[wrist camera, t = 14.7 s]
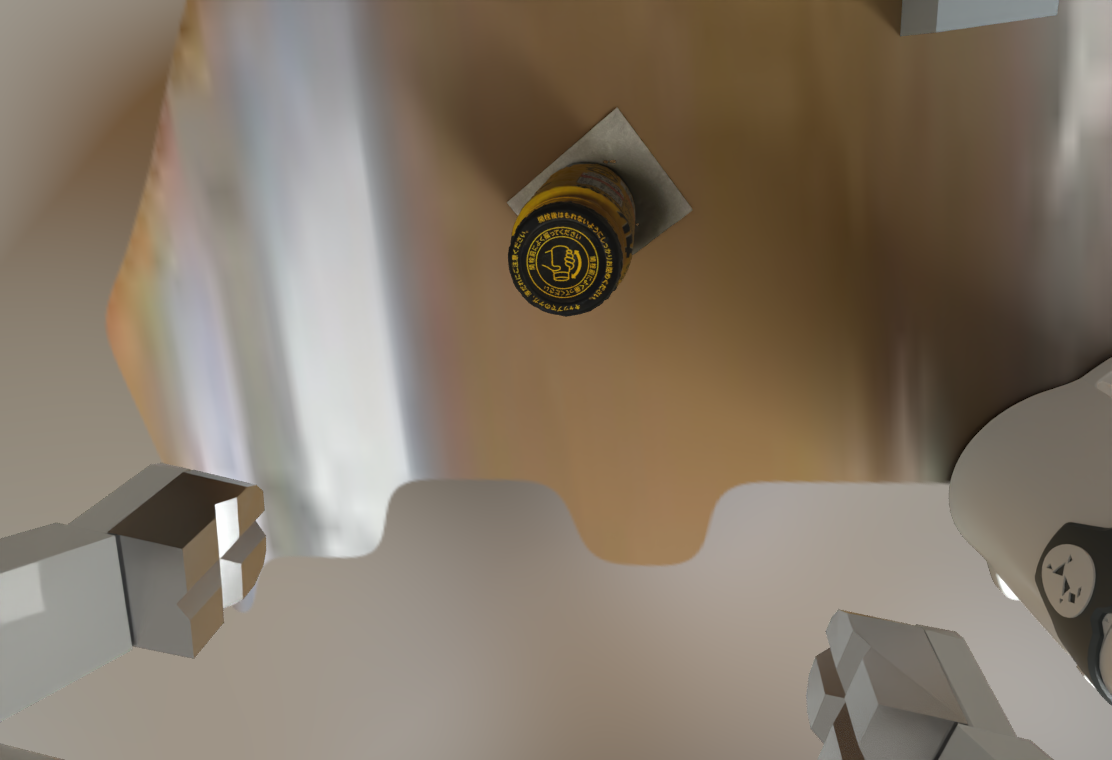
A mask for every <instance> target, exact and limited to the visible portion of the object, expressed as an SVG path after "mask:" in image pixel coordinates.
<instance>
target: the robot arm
mask: <svg viewBox="0 0 1112 760" xmlns="http://www.w3.org/2000/svg"><path fill="white" fill-rule="evenodd" d="M949 506H950V511H951V515H952V518H953V521H954V523H955V525H956V527H957V529H958V531H959V532H960V534H961V535H962V536H963V537H964V539H965V540H966V541H967V542H968V543H969V544H970V545H971V546H972V547H973V548H974V549H975V550H976V551H977V552H979V553H980V554H981V555H982V556H983V557H984V558H985V559H986V561H987V564H988V567H989V571H990V574H991V577H992V579H993V582H994V583H995V585H996V586H997V588H998V589H999V590H1000V591H1001V592H1002V593H1003V594H1004V595H1005V596H1006V597H1007V598H1009V599H1012V600H1020V601H1021V602H1022V603H1023V605H1024V606H1025V607H1026V608H1027V609H1028V610H1029V612H1030V613H1031V614H1032V615H1033V616H1034V617H1035V618H1036V620H1037V621H1038V622H1039V623H1040V624H1041V625H1042V626H1043V627H1044V628H1045V630H1046V631H1047V632H1048V633H1049V634H1050V635H1051V636H1052V638H1053V639H1054V640H1055V641H1056V642H1057V643H1058V644H1059V645H1060V646H1061V648H1062V649H1063V650H1064V651H1065V652H1066V653H1068V654H1069V655H1070V656H1071V657H1072V658H1073V660H1074V661H1075V662H1076V664H1077V668H1078V669H1079V671H1080V672H1081V674H1082V675H1083V676H1084V678H1085V679H1086V680H1087V681H1088V682H1089V683H1090V684H1091V685H1092V686H1093V687H1094V688H1095V689H1097V691H1098V692H1099V693H1100V694H1101V696H1102V697H1103V698H1104V699H1105V700H1106V701H1107V702H1108V703H1109V704H1110V705H1112V357H1111V358H1109V359H1108V360H1106V361H1105V362H1103V363H1102V364H1100V365H1099V366H1097V367H1096V368H1094V369H1093V370H1091V371H1090V372H1089V373H1087V374H1086V375H1085V376H1083V377H1082V378H1080V379H1078V380H1076V381H1074V382H1071V383H1069V384H1066V385H1063V386H1060V387H1057V388H1054V389H1051V390H1048V391H1045V392H1042V393H1039V394H1036V395H1034V396H1032V397H1029V398H1027V399H1025V400H1023V401H1021V402H1019V403H1017V404H1015V405H1013V406H1012V407H1010V408H1008V409H1007V410H1005V411H1004V412H1002V413H1001V414H999V415H998V416H997V417H995V418H994V419H993V420H991V421H990V422H989V423H988V424H987V425H985V426H984V427H983V428H982V429H981V430H980V431H979V432H978V433H977V434H976V435H975V437H974V438H973V439H972V440H971V441H970V443H969V444H968V445H967V447H966V448H965V449H964V451H963V453H962V454H961V456H960V458H959V460H958V462H957V464H956V466H955V468H954V471H953V474H952V477H951V482H950V487H949ZM264 511H265V506H264V495H263V490H262V489H261V488H259V487H258V486H257V485H256V484H251V483H247V482H243V481H239V480H234V479H230V478H226V477H222V476H218V475H213V474H209V473H205V472H201V471H197V470H190V469H187V468H182V467H178V466H173V465H169V464H164V463H158V464H151V465H149V466H148V467H146V468H145V469H144V470H142V471H141V472H140V473H138V474H137V475H135V476H134V477H133V478H131V479H130V480H128V481H127V482H126V483H124V484H123V485H121V486H120V487H119V488H117V489H116V490H115V491H113V492H112V493H110V494H109V495H108V496H106V497H105V498H103V499H102V500H101V501H99V502H98V503H97V504H95V505H94V506H93V507H91V508H90V509H88V510H87V511H85V512H84V513H83V514H81V515H80V516H79V517H77V518H76V519H74V520H73V521H72V522H70V523H69V524H68V525H65V524H60V523H53V524H50V525H46V526H43V527H40V528H36V529H32V530H29V531H25V532H22V533H18V534H15V535H11V536H8V537H4V538H1V539H0V722H2V721H4V720H6V719H7V718H9V717H11V716H12V715H15V714H17V713H18V712H20V711H22V710H24V709H26V708H28V707H29V706H31V705H33V704H35V703H37V702H39V701H40V700H42V699H44V698H46V697H48V696H49V695H51V694H53V693H55V692H57V691H58V690H60V689H62V688H64V687H66V686H68V685H69V684H71V683H73V682H75V681H77V680H78V679H80V678H82V677H84V676H86V675H88V674H89V673H91V672H93V671H95V670H96V669H99V668H100V667H102V666H104V665H106V664H108V663H109V662H111V661H113V660H115V659H117V658H119V657H120V656H122V655H124V654H126V653H128V652H130V651H131V650H132V646H134V647H139V648H143V649H148V650H154V651H158V652H163V653H168V654H173V655H178V656H182V657H187V658H192V659H194V658H195V657H196V656H197V655H198V653H199V652H200V651H201V650H202V649H203V647H204V646H205V645H206V644H207V643H208V641H209V640H210V639H211V638H212V637H213V635H214V634H215V633H216V632H217V631H218V629H219V628H220V627H221V626H222V625H223V623H224V612H223V609H224V608H226V607H228V606H230V605H233V604H235V603H237V602H239V601H242V600H243V599H244V598H245V597H246V595H247V594H248V593H249V592H250V590H251V589H252V588H253V587H254V585H255V583H256V581H257V579H258V577H259V574H260V572H261V570H262V568H263V565H264V560H265V554H266V535H265V534H264V532H263V531H262V529H261V528H260V527H259V525H258V524H257V522H256V521H255V520H256V519H257V518H258V517H259V516H260V515H261V514H262V513H263V512H264ZM826 634H827V638H828V641H829V645H830V648H828V649H827V650H825V651H824V652H822V653H820V654H819V655H817V656H816V657H815V659H814V662H813V665H812V668H811V671H810V673H809V678H808V686H807V695H806V699H807V713H808V718H809V723H810V728H811V730H812V731H813V732H814V733H815V735H816V736H817V737H818V738H819V739H820V740H821V742H822V743H823V744H824V746H823V748H822V750H821V753H820V755H819V757H818V760H1053V759H1052V758H1051V757H1050V756H1049V755H1048V754H1046V753H1045V752H1044V751H1043V750H1042V749H1040V748H1039V747H1038V746H1037V745H1036V744H1035V743H1033V742H1032V741H1031V740H1028V739H1024V738H1019V737H1017V735H1016V734H1015V732H1014V730H1013V728H1012V726H1011V724H1010V723H1009V721H1008V719H1007V717H1006V715H1005V713H1004V712H1003V710H1002V708H1001V706H1000V704H999V702H998V700H997V698H996V697H995V695H994V693H993V691H992V689H991V688H990V686H989V684H988V682H987V680H986V678H985V676H984V674H983V673H982V671H981V669H980V667H979V665H978V664H977V662H976V660H975V658H974V656H973V654H972V652H971V651H970V649H969V647H968V645H967V643H966V641H965V640H964V639H963V637H961V636H960V635H959V634H958V633H957V632H955V631H949V630H944V629H939V628H934V627H928V626H923V625H918V624H916V625H911V624H907V623H902V622H896V621H892V620H887V619H882V618H877V617H873V616H868V615H863V614H858V613H854V612H848V611H844V610H838V611H837V612H836V613H835V614H834V615H833V616H832V618H831V620H830V622H829V625H828V627H827V630H826ZM0 760H64V759H60V758H56V757H52V756H48V755H44V754H40V753H36V752H32V751H28V750H23V749H20V748H16V747H12V746H8V745H4V744H0Z"/></svg>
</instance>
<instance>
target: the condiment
mask: <svg viewBox="0 0 1112 760" xmlns="http://www.w3.org/2000/svg"><path fill="white" fill-rule="evenodd" d="M604 160H607V161H608V163H607V164H606V163H603V161H604ZM610 160H615V161H616V163H610ZM507 204H508V205H509V206H510V207H511V208H512V210H513V211H514V212H515V213H516V214H517V216H518V217H517V219H516V222H515V224H514V227H513V230H512V237H511V245H510V247H509V252H508V263H509V270H510V274H511V277H512V279H513V283H514V285H515V287H516V288H517V290H518V291H519V292H520V293H521V294H522V296H523V297H524V298H525V299H526V300H527V301H528V302H529V303H530V304H531V305H533V306H535V307H537V308H539V309H540V310H542V311H544V312H547V313H550V314H555V315H560V316H565V317H566V316H572V315H578V314H582V313H585V312H589V311H591V310H593V309H594V308H596V307H598V306H600V305H601V304H602V303H603V302H604V300H606V299H608V298H609V297H610V295H611V293H612V291H615V290H616V288H617V286H618V285H619V283H620V282H621V281H622V279H623V278H624V276H625V274H626V272H627V270H628V268H629V265H630V262H631V259H632V255H634V254H635V253H636V252H637V251H639V250H640V249H642V248H643V247H645V246H646V245H647V244H648V243H649V242H651V241H652V240H653V239H655V238H656V237H658V236H659V235H660V234H661V233H663V232H664V231H665V230H667V229H668V228H669V227H671V226H672V225H673V224H675V223H676V222H678V221H679V220H680V219H682V218H683V217H684V216H685V215H687V214H688V213H689V212H691V211H692V210H693V209H692V208H691V207H690V205H689V204H688V202H687V201H686V200H685V199H684V197H683V196H682V194H681V193H680V192H679V190H678V189H677V188H676V186H675V185H674V183H673V182H672V181H671V180H670V178H669V177H668V175H667V174H666V173H665V171H664V170H663V169H662V167H661V166H660V165H659V163H658V162H657V160H656V159H655V158H654V156H653V155H652V154H651V152H649V149H648V148H647V147H646V146H645V144H644V143H643V142H642V141H641V139H640V138H639V136H638V135H637V134H636V132H635V131H634V129H633V128H632V127H631V126H630V124H629V123H628V121H627V120H626V119H625V117H624V116H623V115H622V113H621V112H620V111H619V109H618V108H616V109H614V110H613V111H612V112H611V113H610V114H609V115H608V116H606V117H605V118H604V119H603V120H602V121H601V122H599V123H598V124H597V125H596V126H595V127H594V128H592V129H591V130H590V131H589V132H588V133H587V134H586V135H585V136H583V137H582V138H581V139H580V140H579V141H577V142H576V143H575V144H574V145H573V146H572V147H570V148H569V149H568V150H567V151H566V152H565V153H564V154H562V155H561V156H560V157H559V158H558V159H557V160H555V161H554V162H553V163H552V164H551V165H550V166H548V167H547V168H546V169H545V170H544V171H543V172H542V173H540V174H539V175H538V176H537V177H536V178H535V179H533V180H532V181H531V182H530V183H529V184H528V185H527V186H525V187H524V188H523V189H522V190H521V191H520V192H518V193H517V194H516V195H515V196H514V197H513V198H511V199H510V200H509V201H508V202H507ZM637 223H639V225H638V226H637V225H636V224H637Z"/></svg>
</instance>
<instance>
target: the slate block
mask: <svg viewBox="0 0 1112 760" xmlns="http://www.w3.org/2000/svg"><path fill="white" fill-rule="evenodd" d="M1058 4H1059V0H902V16H901V32H900V36H908V35H917V34H926V33H935V32H943V31H949V30H956V29H963V28H970V27H977V26H984V25H991V24H998V23H1005V22H1012V21H1019V20H1026V19H1033V18H1040V17H1047V16H1054V15H1057V11H1058Z"/></svg>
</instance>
